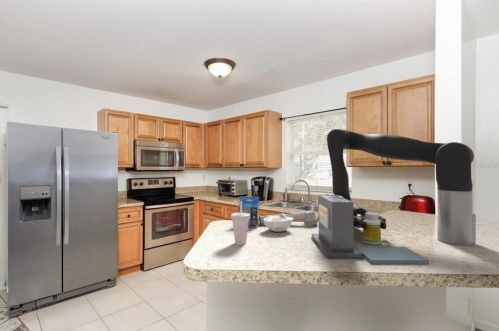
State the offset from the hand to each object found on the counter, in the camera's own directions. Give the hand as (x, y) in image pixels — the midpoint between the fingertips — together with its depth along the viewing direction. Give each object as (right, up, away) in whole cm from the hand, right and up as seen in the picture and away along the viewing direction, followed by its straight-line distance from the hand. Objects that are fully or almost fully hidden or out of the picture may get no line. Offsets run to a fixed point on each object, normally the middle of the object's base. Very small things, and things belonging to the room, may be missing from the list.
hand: (375, 226), depth 84 cm
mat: (-1, -6, -10) cm, 12 cm away
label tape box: (-41, -6, +27) cm, 50 cm away
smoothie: (-44, -7, +3) cm, 44 cm away
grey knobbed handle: (-24, -7, +28) cm, 38 cm away
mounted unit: (-14, -6, -2) cm, 15 cm away
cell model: (-30, -6, +18) cm, 35 cm away
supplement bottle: (0, -6, +3) cm, 7 cm away
